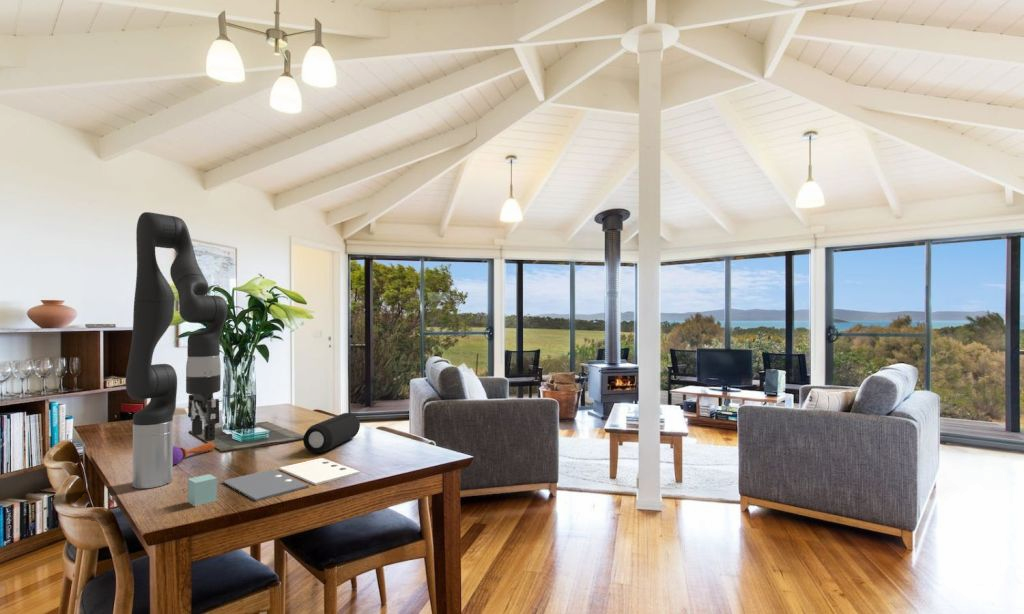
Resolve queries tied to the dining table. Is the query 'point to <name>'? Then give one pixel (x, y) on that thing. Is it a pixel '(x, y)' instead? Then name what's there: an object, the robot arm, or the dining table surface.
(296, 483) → the two dot pad
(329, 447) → the portable speaker
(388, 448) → the dining table surface
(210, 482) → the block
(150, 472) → the robot arm
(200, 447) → the kendama
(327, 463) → the three dot pad
